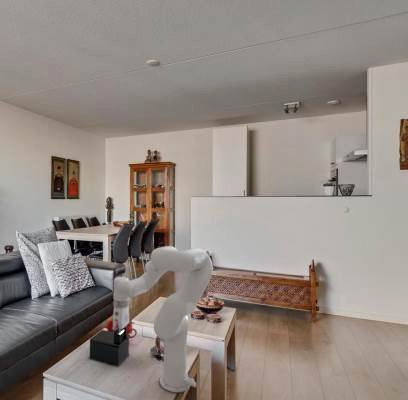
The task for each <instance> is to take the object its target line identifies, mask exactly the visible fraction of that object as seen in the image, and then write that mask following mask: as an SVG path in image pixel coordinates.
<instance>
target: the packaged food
mask: <svg viewBox="0 0 408 400" xmlns="http://www.w3.org/2000/svg"><path fill="white" fill-rule="evenodd" d="M149 354H150V355H154V356H156V357H159V358H161V357H160V356H157V355H158V352H157V349H156V345H153V347H151V348H150V350H149ZM162 358H163V359H164V357H162Z"/></svg>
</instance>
